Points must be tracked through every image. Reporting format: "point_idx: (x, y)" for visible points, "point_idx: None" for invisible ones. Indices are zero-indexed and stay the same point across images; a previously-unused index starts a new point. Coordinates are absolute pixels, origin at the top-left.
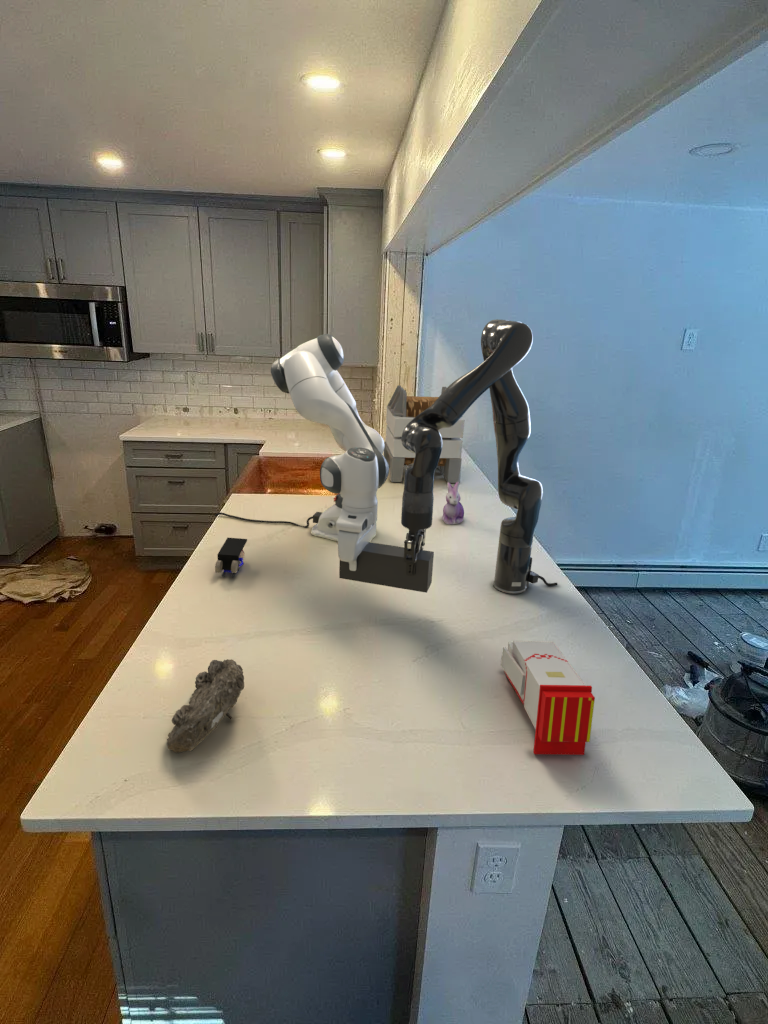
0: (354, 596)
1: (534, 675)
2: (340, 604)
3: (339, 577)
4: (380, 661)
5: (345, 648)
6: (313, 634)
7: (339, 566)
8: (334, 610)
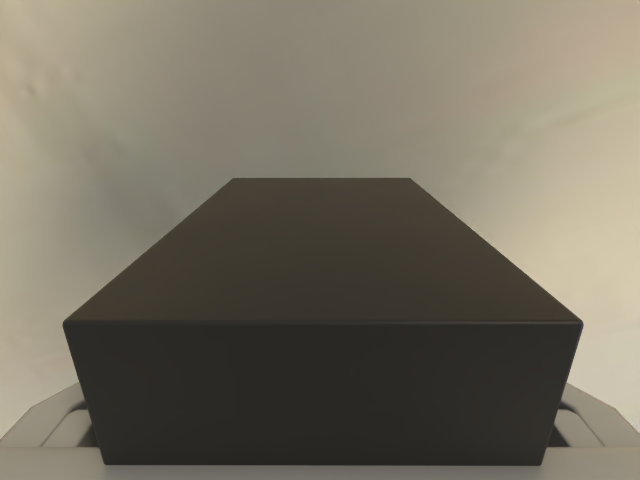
0: (404, 175)
1: None
2: (310, 139)
3: (231, 180)
4: (26, 382)
5: (18, 270)
6: (22, 120)
7: (204, 203)
8: (248, 132)
